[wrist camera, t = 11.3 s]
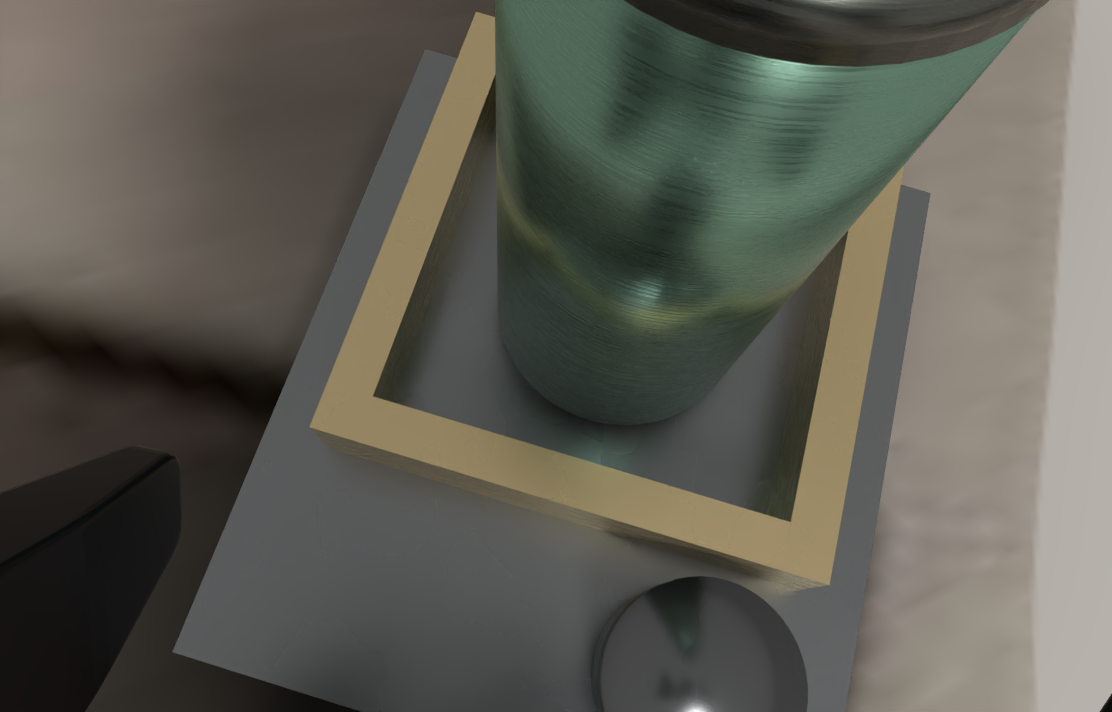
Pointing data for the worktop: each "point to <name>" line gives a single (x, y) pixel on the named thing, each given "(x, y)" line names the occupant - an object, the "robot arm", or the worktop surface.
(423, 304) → the grey tray base
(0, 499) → the robot arm
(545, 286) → the spout can
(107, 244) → the worktop surface
